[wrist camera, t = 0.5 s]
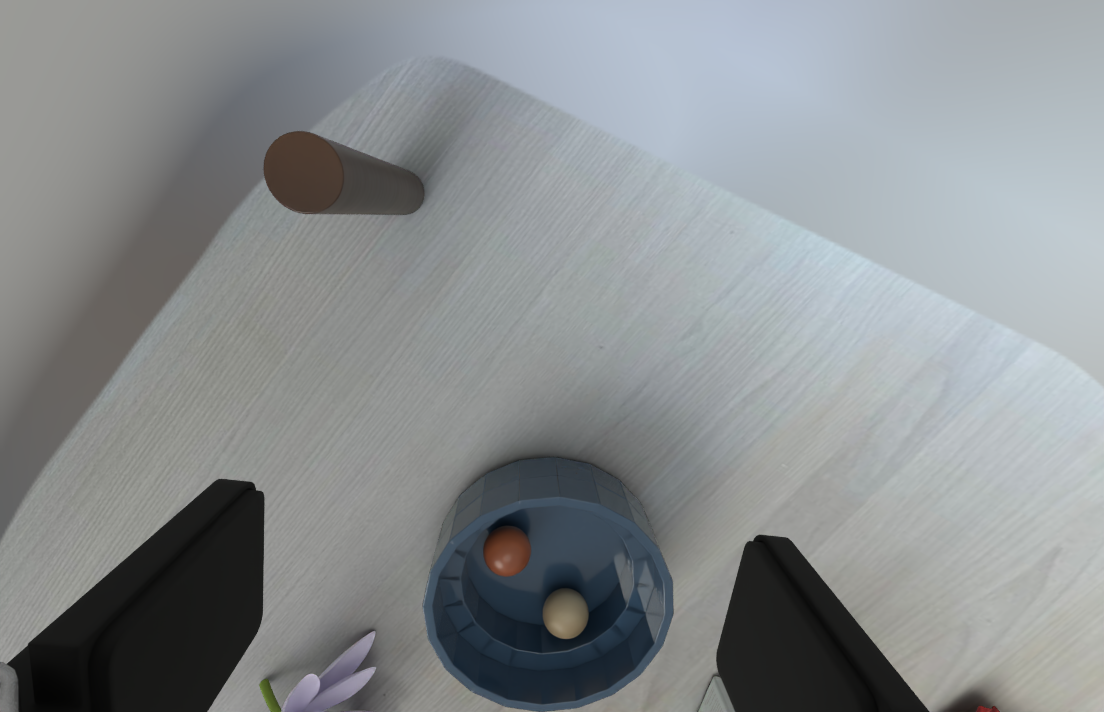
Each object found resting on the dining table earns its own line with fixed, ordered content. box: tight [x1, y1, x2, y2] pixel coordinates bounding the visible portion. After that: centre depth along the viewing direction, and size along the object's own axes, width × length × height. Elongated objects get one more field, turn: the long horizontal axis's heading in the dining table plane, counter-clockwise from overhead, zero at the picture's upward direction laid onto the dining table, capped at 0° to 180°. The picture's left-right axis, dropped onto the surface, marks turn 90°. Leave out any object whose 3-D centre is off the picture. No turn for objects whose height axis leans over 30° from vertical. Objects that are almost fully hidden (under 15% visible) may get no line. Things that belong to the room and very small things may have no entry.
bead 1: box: [483, 526, 531, 577], centre depth 36 cm, size 3×3×3 cm
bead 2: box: [543, 588, 589, 639], centre depth 38 cm, size 3×3×3 cm
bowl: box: [423, 457, 674, 712], centre depth 36 cm, size 15×15×6 cm
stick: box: [264, 131, 424, 215], centre depth 25 cm, size 3×3×15 cm
